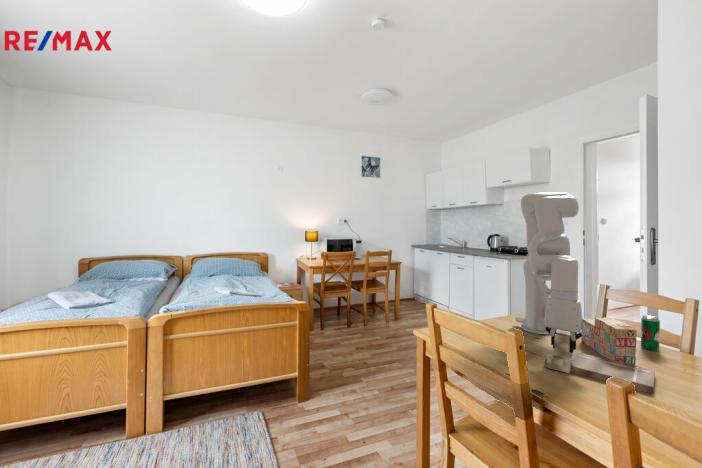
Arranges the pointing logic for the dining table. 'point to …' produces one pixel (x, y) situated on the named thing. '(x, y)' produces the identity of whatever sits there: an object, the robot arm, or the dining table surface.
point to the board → (611, 370)
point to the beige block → (560, 352)
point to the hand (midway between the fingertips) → (563, 348)
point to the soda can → (650, 333)
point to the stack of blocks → (611, 339)
